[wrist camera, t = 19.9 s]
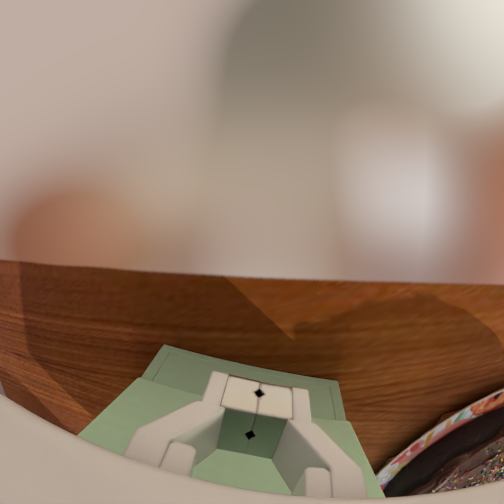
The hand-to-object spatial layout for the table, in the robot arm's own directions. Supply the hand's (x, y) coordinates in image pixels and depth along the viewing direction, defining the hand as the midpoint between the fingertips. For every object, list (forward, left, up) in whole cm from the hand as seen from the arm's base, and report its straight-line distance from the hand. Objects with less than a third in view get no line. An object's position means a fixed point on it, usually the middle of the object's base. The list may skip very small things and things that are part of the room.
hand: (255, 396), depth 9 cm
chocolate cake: (+34, -5, -12) cm, 36 cm away
